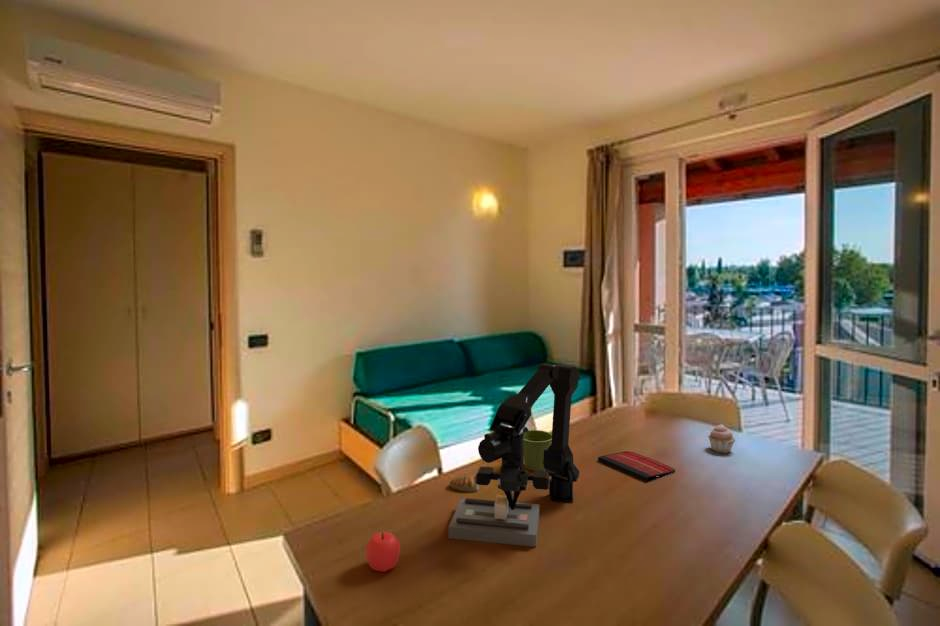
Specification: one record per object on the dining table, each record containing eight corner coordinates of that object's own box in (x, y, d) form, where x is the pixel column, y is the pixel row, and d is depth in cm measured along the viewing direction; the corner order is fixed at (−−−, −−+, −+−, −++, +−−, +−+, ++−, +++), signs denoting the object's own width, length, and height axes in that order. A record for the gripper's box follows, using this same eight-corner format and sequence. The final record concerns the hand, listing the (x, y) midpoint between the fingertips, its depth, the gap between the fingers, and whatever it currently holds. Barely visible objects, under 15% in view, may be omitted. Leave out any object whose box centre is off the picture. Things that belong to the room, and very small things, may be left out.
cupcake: (736, 448, 183) (737, 422, 182) (734, 456, 175) (735, 429, 175) (708, 444, 188) (709, 418, 187) (705, 451, 180) (706, 425, 180)
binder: (647, 477, 154) (597, 456, 172) (646, 484, 155) (597, 462, 172) (678, 468, 163) (628, 449, 181) (678, 475, 163) (627, 455, 181)
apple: (384, 581, 107) (383, 546, 106) (358, 569, 111) (357, 535, 110) (408, 562, 113) (407, 529, 113) (382, 552, 117) (381, 520, 117)
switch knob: (508, 510, 131) (508, 495, 130) (506, 519, 126) (506, 503, 125) (497, 509, 131) (497, 494, 131) (494, 518, 126) (494, 502, 126)
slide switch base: (539, 514, 135) (539, 500, 134) (535, 546, 119) (535, 530, 119) (461, 508, 139) (461, 493, 139) (448, 538, 123) (448, 522, 123)
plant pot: (514, 471, 164) (514, 438, 163) (523, 458, 175) (524, 428, 174) (548, 476, 160) (549, 443, 159) (556, 463, 171) (556, 432, 170)
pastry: (448, 492, 150) (448, 480, 149) (451, 482, 156) (451, 471, 156) (478, 493, 149) (478, 481, 149) (480, 483, 156) (480, 472, 155)
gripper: (471, 460, 120) (472, 521, 122) (547, 465, 117) (547, 528, 118) (479, 445, 131) (479, 500, 132) (549, 449, 128) (549, 506, 129)
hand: (512, 509), depth 128 cm, fingers closed
